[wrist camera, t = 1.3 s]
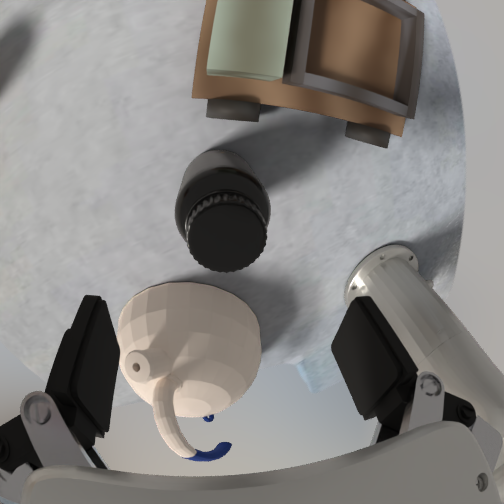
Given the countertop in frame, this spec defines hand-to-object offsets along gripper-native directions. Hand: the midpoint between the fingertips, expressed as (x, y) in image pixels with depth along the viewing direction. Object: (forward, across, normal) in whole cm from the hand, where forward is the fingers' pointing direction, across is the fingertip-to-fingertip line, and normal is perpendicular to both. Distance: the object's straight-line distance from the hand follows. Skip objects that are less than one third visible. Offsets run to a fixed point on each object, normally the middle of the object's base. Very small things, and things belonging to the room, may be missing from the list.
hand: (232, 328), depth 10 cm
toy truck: (+19, -8, -16) cm, 26 cm away
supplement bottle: (+19, 0, 0) cm, 19 cm away
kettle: (+19, +2, +22) cm, 30 cm away
